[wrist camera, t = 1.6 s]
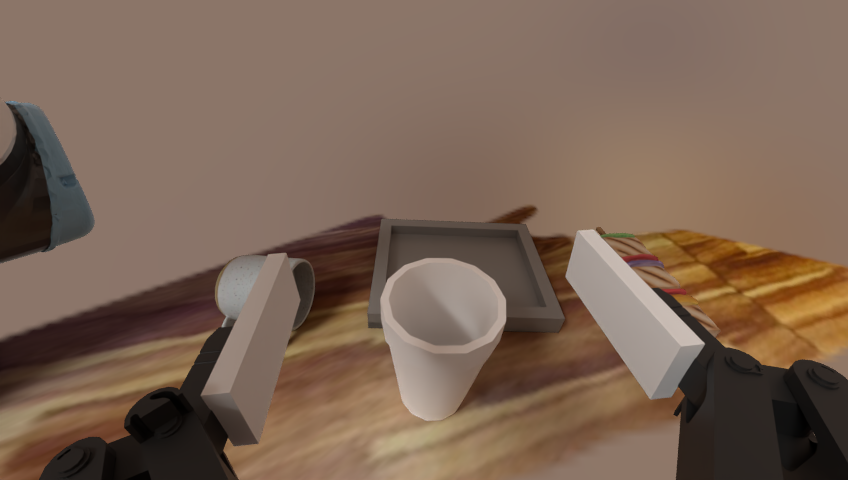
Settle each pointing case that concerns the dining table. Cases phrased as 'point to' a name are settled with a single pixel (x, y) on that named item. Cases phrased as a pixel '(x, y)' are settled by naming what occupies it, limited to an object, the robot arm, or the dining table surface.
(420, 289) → the foam cup
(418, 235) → the cafeteria tray
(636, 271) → the skewer
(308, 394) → the dining table surface
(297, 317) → the ceramic mug
